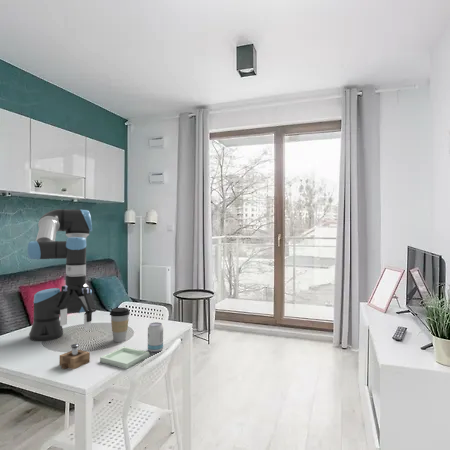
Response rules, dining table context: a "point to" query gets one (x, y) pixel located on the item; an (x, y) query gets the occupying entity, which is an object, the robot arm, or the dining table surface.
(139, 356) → the tray
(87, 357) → the brown rectangular frame
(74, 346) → the grey round-topped rod
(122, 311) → the coffee cup
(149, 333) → the beverage can
